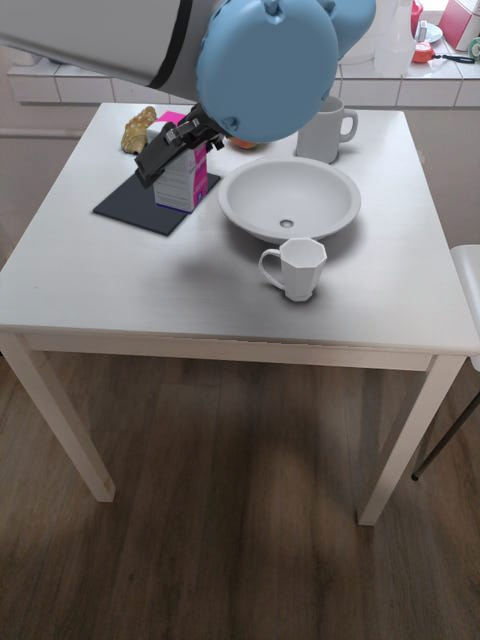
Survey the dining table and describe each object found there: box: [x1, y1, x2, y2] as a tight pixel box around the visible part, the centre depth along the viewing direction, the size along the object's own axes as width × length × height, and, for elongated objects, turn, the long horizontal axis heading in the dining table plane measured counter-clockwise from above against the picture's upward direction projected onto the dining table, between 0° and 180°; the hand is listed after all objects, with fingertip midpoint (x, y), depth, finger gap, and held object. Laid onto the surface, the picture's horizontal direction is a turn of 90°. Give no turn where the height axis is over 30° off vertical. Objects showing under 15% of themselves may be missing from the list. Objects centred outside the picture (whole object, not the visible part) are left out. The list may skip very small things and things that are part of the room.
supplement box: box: [146, 110, 209, 215], centre depth 66 cm, size 6×6×12 cm
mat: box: [92, 172, 221, 237], centre depth 93 cm, size 16×20×1 cm
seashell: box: [120, 105, 159, 154], centre depth 105 cm, size 9×8×10 cm
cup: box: [257, 238, 328, 302], centre depth 73 cm, size 7×10×8 cm
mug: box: [295, 94, 359, 165], centre depth 99 cm, size 12×8×11 cm
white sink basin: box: [217, 155, 362, 246], centre depth 84 cm, size 24×24×7 cm
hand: (165, 168), depth 69 cm, fingers closed on supplement box, 7 cm apart
